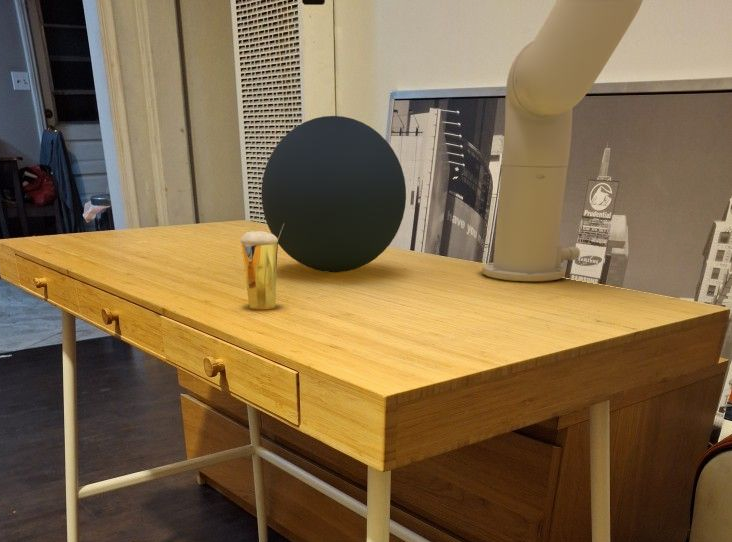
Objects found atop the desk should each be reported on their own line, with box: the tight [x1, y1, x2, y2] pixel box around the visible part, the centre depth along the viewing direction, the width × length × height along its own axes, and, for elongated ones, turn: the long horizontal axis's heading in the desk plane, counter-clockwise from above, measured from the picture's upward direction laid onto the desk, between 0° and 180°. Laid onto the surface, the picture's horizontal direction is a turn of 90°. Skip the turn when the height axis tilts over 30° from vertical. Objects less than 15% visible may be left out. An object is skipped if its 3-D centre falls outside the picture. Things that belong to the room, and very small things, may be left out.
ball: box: [260, 115, 407, 274], centre depth 115 cm, size 22×22×22 cm
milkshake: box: [240, 224, 284, 310], centre depth 94 cm, size 4×5×10 cm
